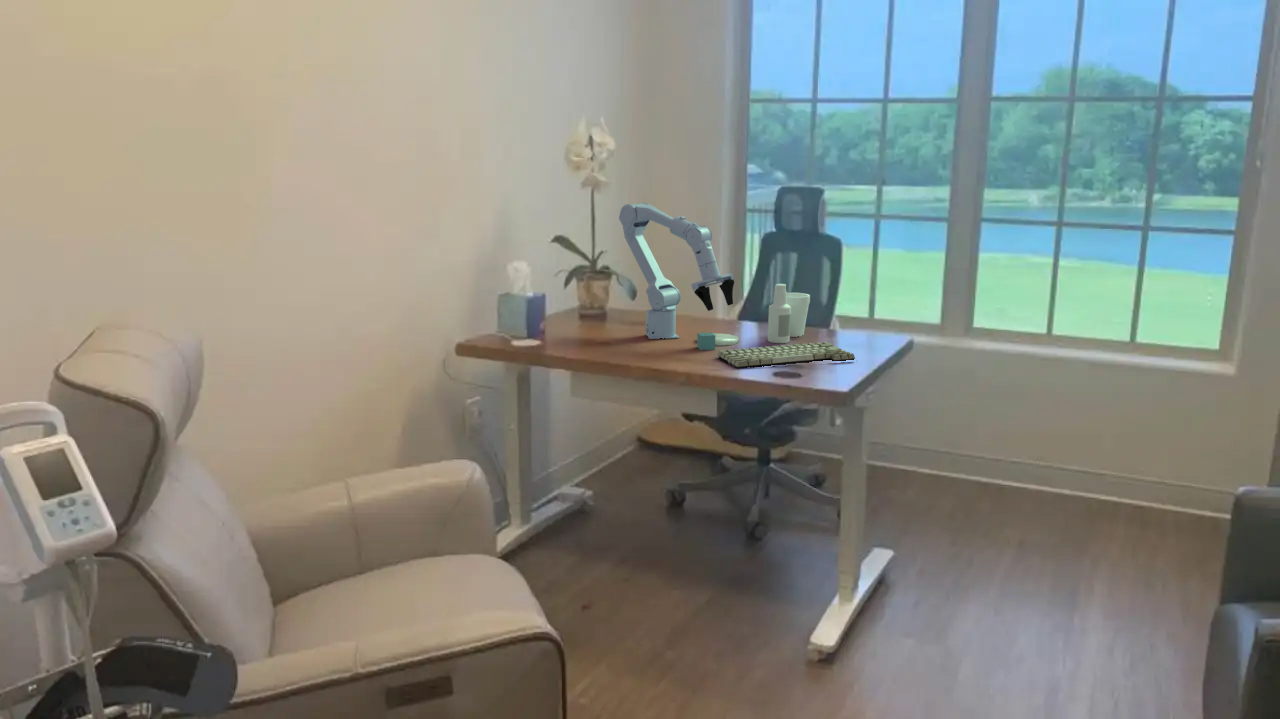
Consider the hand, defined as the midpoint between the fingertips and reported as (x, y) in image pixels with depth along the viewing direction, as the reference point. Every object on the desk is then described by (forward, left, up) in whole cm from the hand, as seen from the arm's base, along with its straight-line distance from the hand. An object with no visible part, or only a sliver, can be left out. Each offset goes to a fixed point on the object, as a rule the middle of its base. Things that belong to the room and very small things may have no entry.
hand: (720, 307), depth 309 cm
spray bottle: (+20, +3, -12) cm, 24 cm away
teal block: (-5, -3, -12) cm, 13 cm away
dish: (+1, +6, -12) cm, 14 cm away
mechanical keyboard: (+14, -21, -13) cm, 28 cm away
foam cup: (+28, +12, -12) cm, 33 cm away
